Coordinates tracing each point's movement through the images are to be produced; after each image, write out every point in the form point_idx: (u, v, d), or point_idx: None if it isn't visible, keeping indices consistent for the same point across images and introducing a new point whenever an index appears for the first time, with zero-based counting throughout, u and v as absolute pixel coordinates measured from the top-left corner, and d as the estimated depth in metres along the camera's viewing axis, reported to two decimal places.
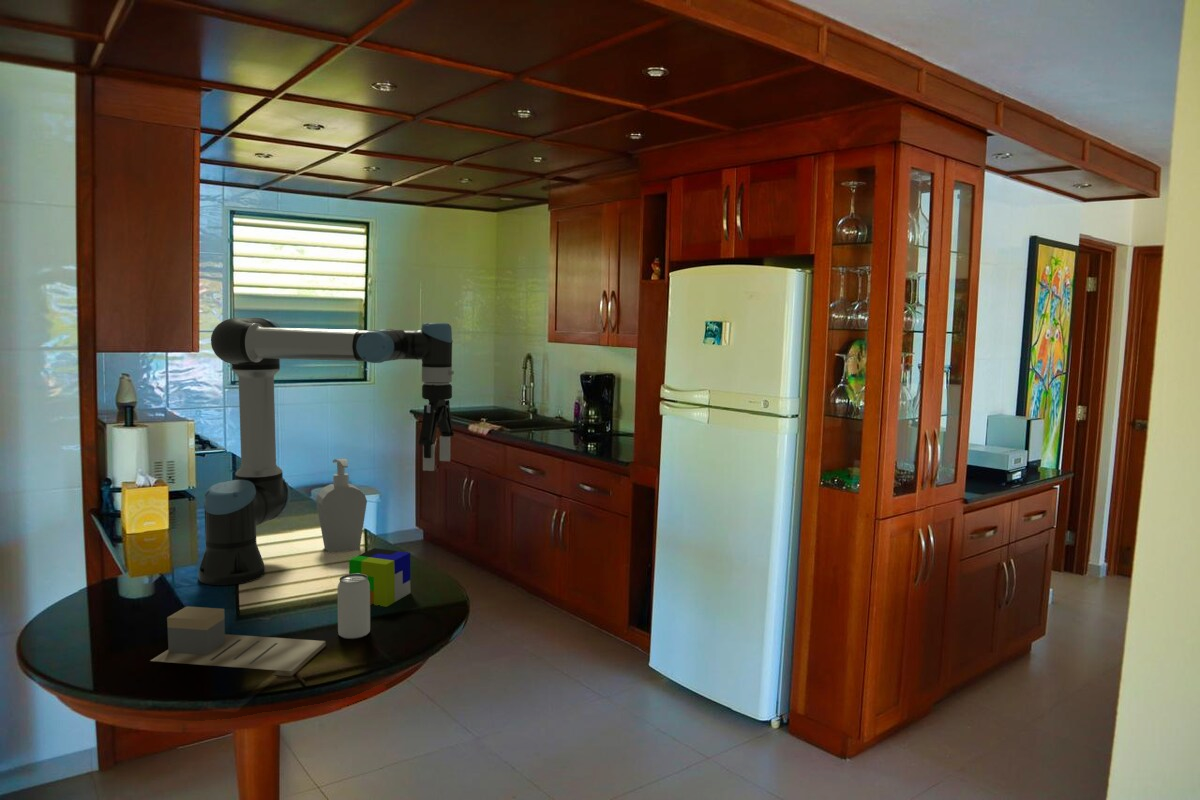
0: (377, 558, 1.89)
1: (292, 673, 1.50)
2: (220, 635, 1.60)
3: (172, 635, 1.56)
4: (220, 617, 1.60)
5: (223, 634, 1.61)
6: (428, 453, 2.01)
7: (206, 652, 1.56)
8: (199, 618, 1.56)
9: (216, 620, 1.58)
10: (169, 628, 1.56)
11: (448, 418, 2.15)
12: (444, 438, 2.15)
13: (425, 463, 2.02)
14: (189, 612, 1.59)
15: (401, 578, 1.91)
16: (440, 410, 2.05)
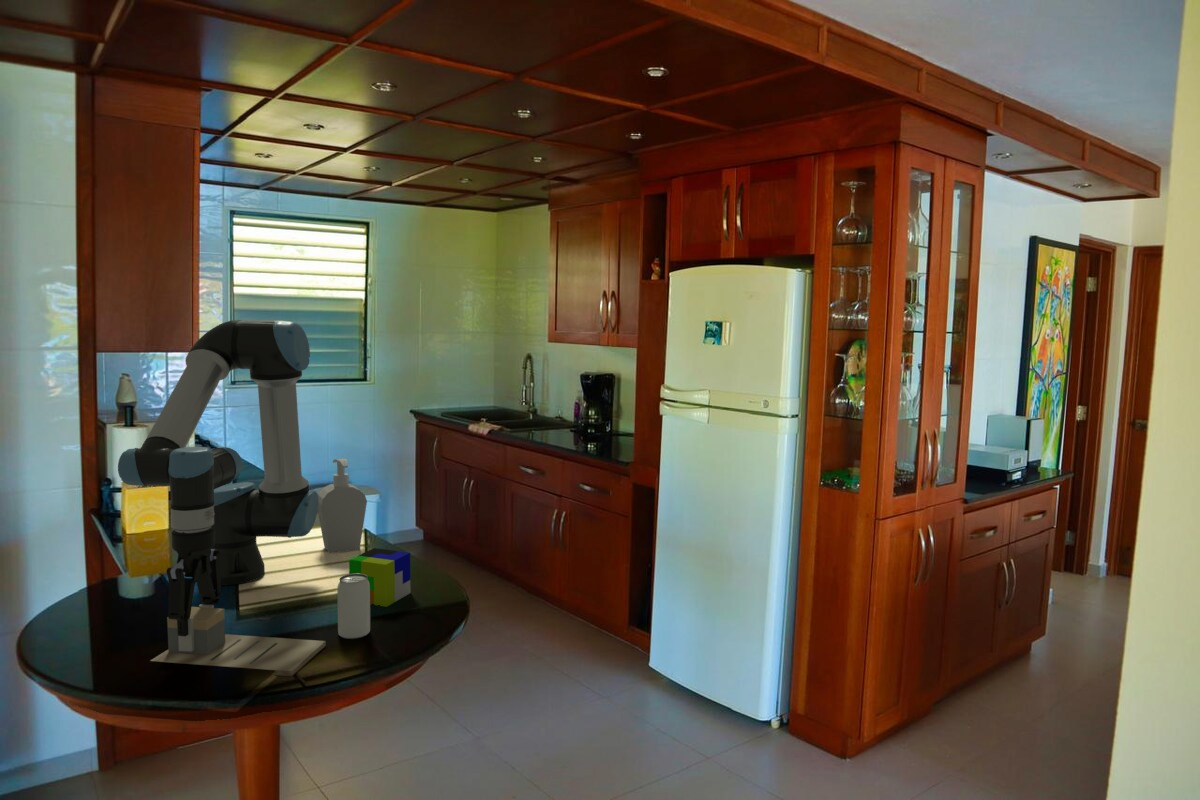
0: (377, 558, 1.89)
1: (292, 673, 1.50)
2: (220, 635, 1.60)
3: (172, 635, 1.56)
4: (220, 617, 1.60)
5: (223, 634, 1.61)
6: (183, 630, 1.54)
7: (206, 652, 1.56)
8: (199, 618, 1.56)
9: (216, 620, 1.58)
10: (169, 628, 1.56)
11: (215, 575, 1.63)
12: (205, 607, 1.61)
13: (181, 641, 1.55)
14: None
15: (401, 578, 1.91)
16: (195, 566, 1.55)
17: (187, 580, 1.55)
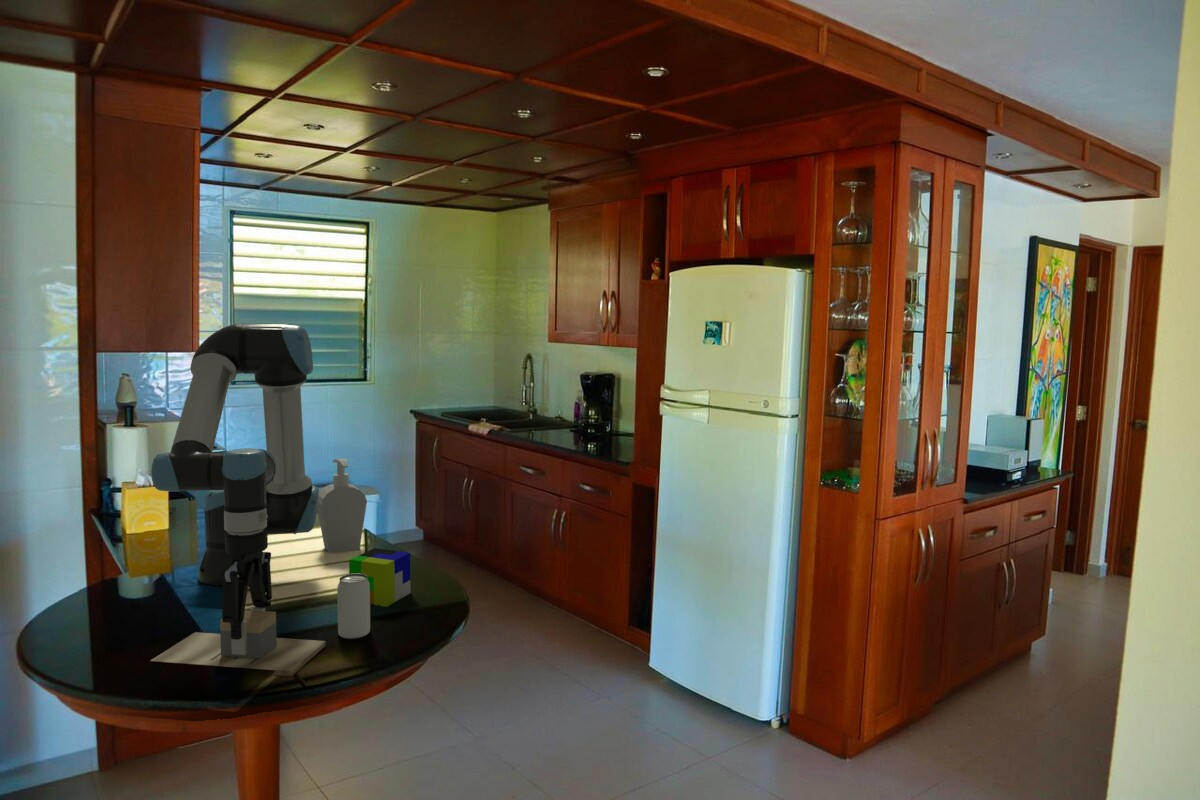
0: (377, 558, 1.89)
1: (292, 673, 1.50)
2: (272, 638, 1.58)
3: (225, 638, 1.55)
4: (272, 620, 1.58)
5: (275, 637, 1.60)
6: (236, 633, 1.52)
7: (259, 656, 1.54)
8: (252, 621, 1.54)
9: (268, 623, 1.57)
10: (222, 632, 1.55)
11: (266, 578, 1.61)
12: None
13: (234, 644, 1.54)
14: None
15: (401, 578, 1.91)
16: (249, 569, 1.54)
17: (240, 583, 1.53)
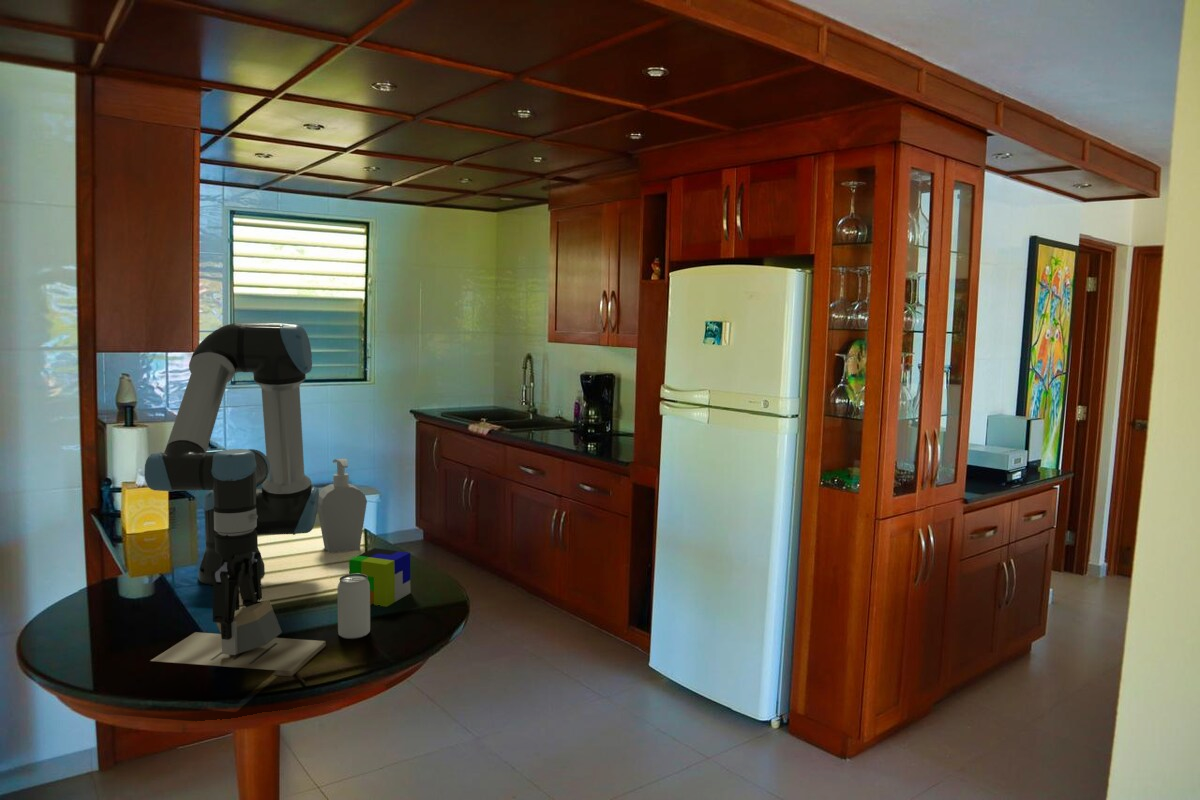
0: (377, 558, 1.89)
1: (292, 673, 1.50)
2: (274, 625, 1.59)
3: None
4: (267, 608, 1.59)
5: (277, 624, 1.60)
6: (227, 633, 1.53)
7: (264, 642, 1.54)
8: (246, 612, 1.55)
9: (264, 610, 1.57)
10: None
11: (256, 578, 1.62)
12: None
13: (224, 644, 1.54)
14: (237, 612, 1.58)
15: (401, 578, 1.91)
16: (239, 569, 1.54)
17: (230, 583, 1.54)
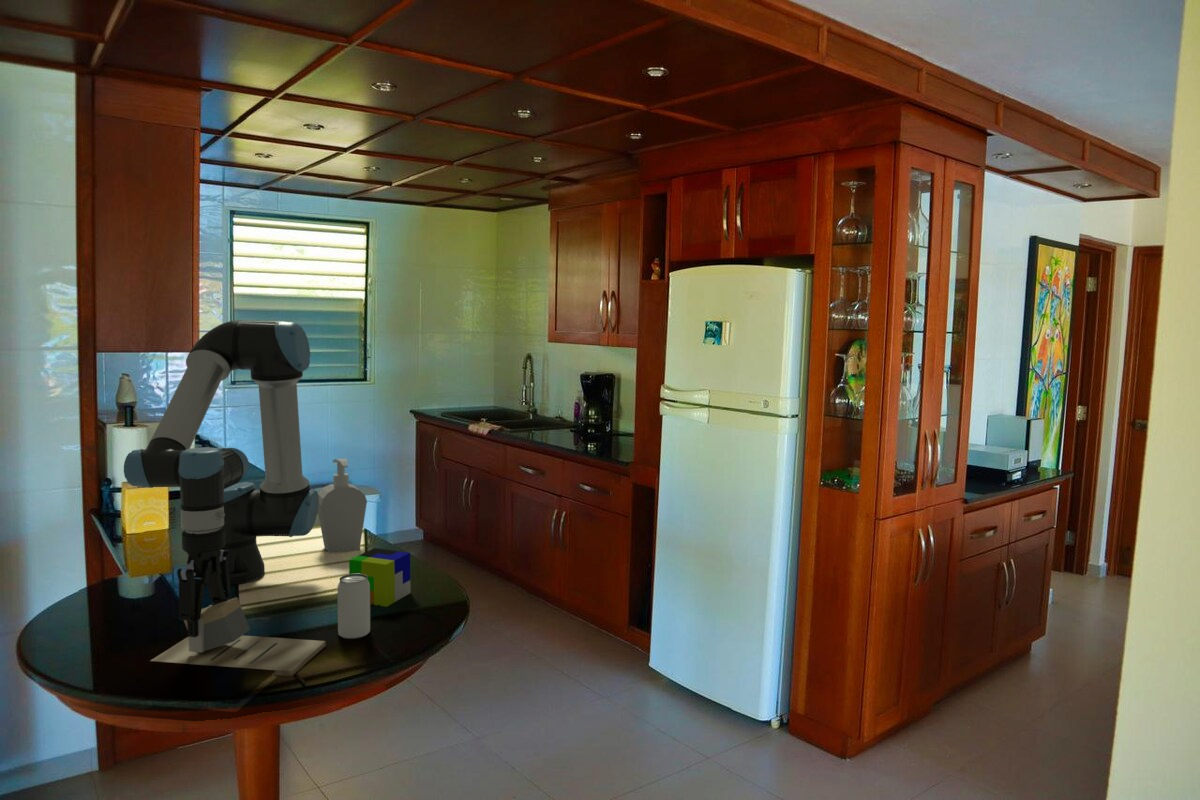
0: (377, 558, 1.89)
1: (292, 673, 1.50)
2: (241, 622, 1.59)
3: None
4: (235, 605, 1.59)
5: (245, 621, 1.60)
6: (193, 631, 1.53)
7: (231, 639, 1.55)
8: (213, 609, 1.55)
9: (232, 608, 1.58)
10: None
11: (224, 576, 1.63)
12: None
13: (191, 642, 1.55)
14: (204, 610, 1.58)
15: (401, 578, 1.91)
16: (206, 567, 1.55)
17: (197, 581, 1.55)
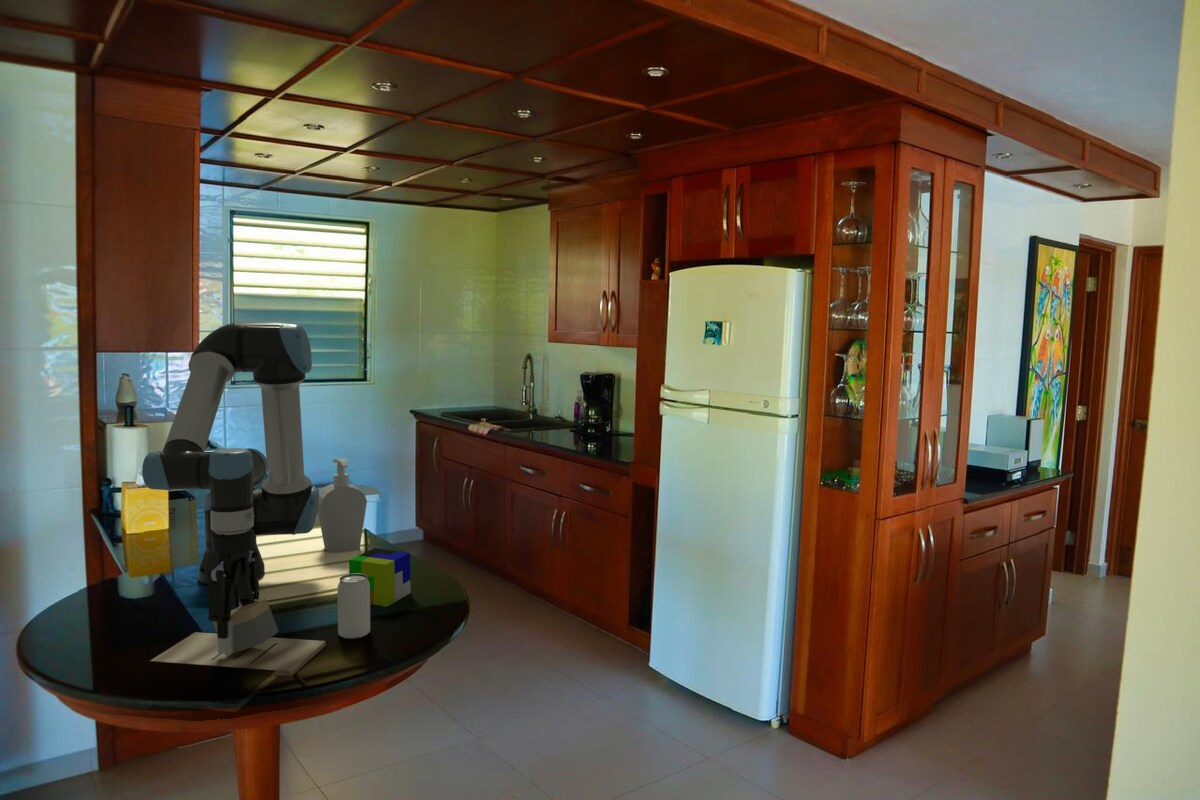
0: (377, 558, 1.89)
1: (292, 673, 1.50)
2: (270, 624, 1.58)
3: None
4: (264, 607, 1.58)
5: (273, 623, 1.59)
6: (223, 633, 1.53)
7: (260, 641, 1.54)
8: (242, 611, 1.54)
9: (261, 609, 1.57)
10: None
11: (253, 577, 1.62)
12: None
13: (220, 643, 1.54)
14: (233, 611, 1.57)
15: (401, 578, 1.91)
16: (235, 568, 1.54)
17: (227, 582, 1.54)
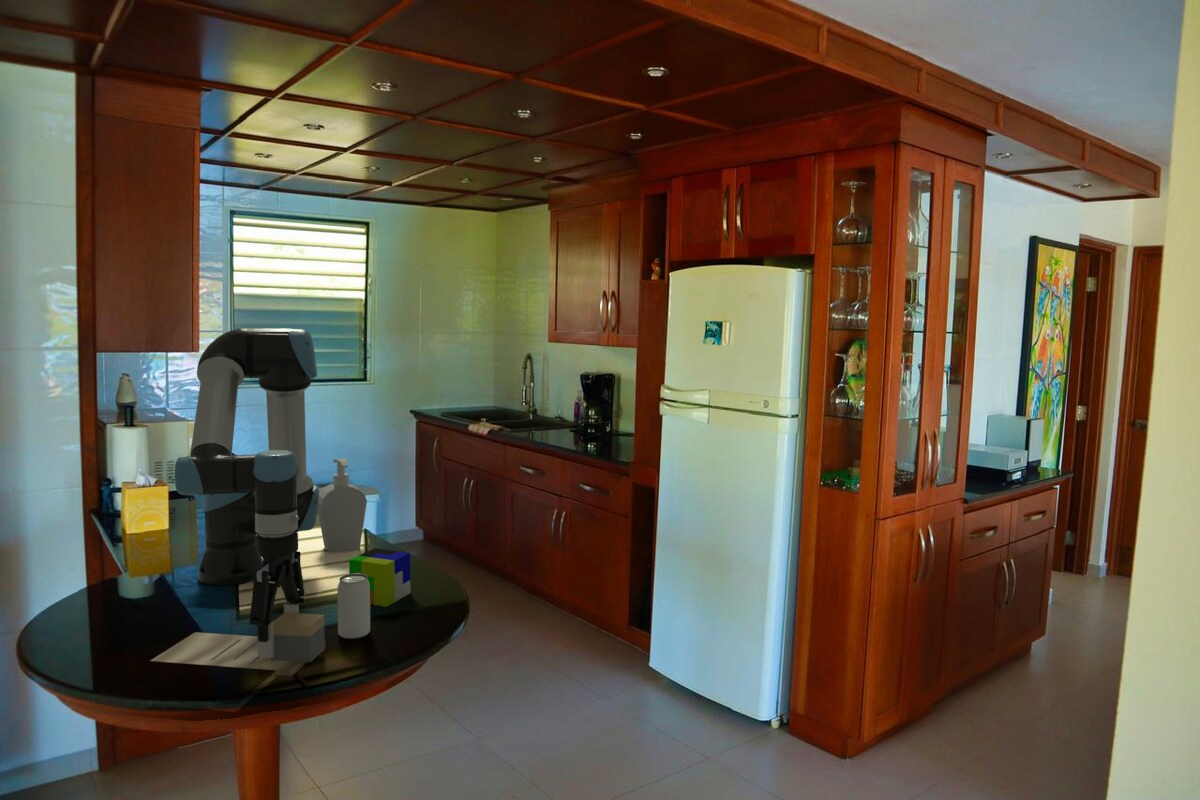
0: (377, 558, 1.89)
1: (292, 673, 1.50)
2: (321, 642, 1.58)
3: (275, 641, 1.54)
4: (320, 623, 1.57)
5: (323, 640, 1.59)
6: (263, 636, 1.50)
7: (309, 659, 1.53)
8: (302, 624, 1.53)
9: (317, 626, 1.56)
10: None
11: (297, 576, 1.62)
12: (290, 607, 1.61)
13: (260, 647, 1.52)
14: (290, 618, 1.56)
15: (401, 578, 1.91)
16: (280, 571, 1.53)
17: (270, 584, 1.52)
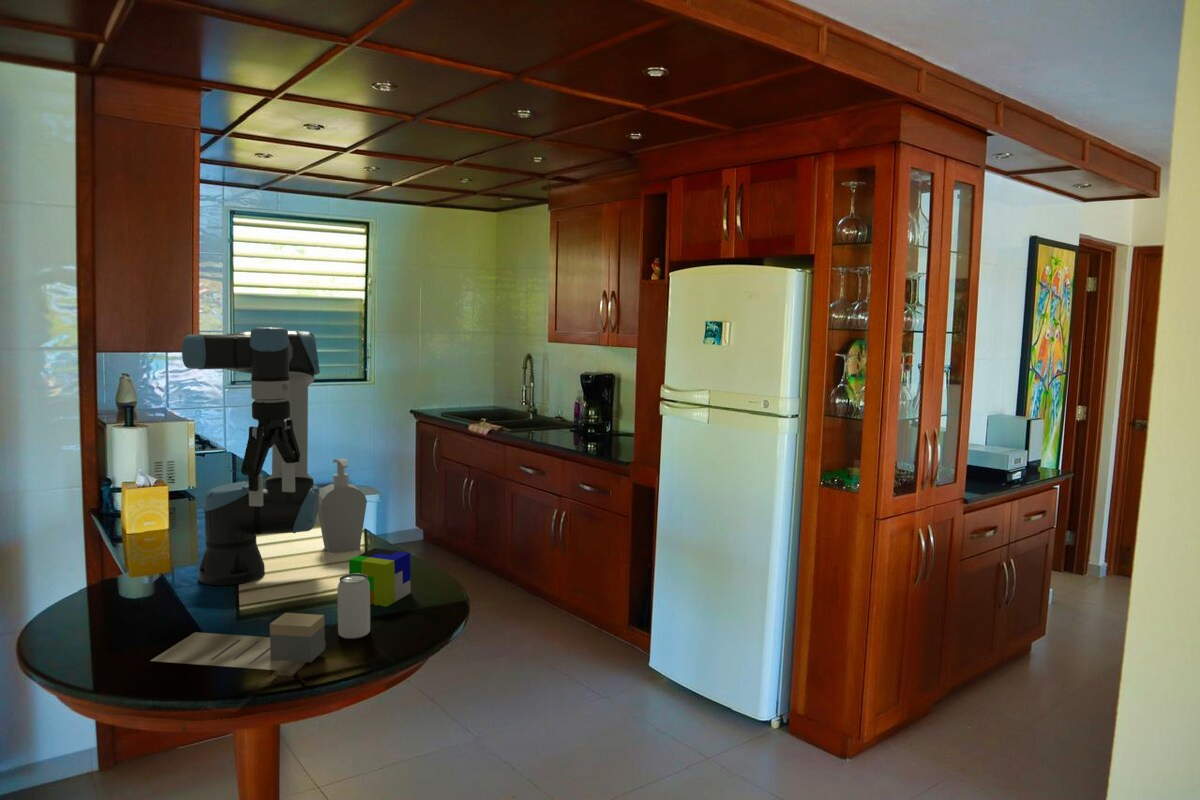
0: (377, 558, 1.89)
1: (292, 673, 1.50)
2: (321, 642, 1.58)
3: (275, 641, 1.54)
4: (321, 624, 1.57)
5: (323, 641, 1.59)
6: (253, 485, 1.66)
7: (309, 659, 1.53)
8: (302, 625, 1.53)
9: (318, 627, 1.56)
10: (272, 635, 1.54)
11: (292, 441, 1.80)
12: (287, 465, 1.80)
13: (251, 496, 1.67)
14: (290, 618, 1.56)
15: (401, 578, 1.91)
16: (273, 433, 1.71)
17: (263, 443, 1.69)
